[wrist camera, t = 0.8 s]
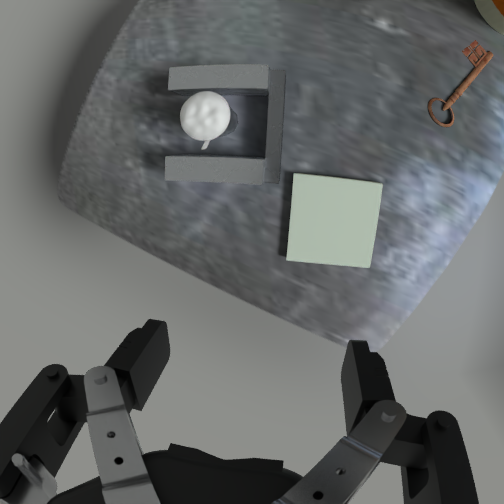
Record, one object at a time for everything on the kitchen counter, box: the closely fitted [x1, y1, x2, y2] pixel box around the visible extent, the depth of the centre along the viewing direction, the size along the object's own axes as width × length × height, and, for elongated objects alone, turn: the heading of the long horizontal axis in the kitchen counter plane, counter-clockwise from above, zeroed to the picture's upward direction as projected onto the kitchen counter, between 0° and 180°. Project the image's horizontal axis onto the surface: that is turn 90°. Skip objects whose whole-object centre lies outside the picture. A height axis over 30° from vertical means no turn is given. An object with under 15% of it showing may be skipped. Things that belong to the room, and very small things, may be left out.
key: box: [428, 40, 493, 127], centre depth 27 cm, size 6×1×15 cm
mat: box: [286, 173, 383, 268], centre depth 35 cm, size 10×10×1 cm
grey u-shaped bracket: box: [165, 64, 286, 185], centre depth 31 cm, size 12×12×5 cm
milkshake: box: [180, 91, 238, 150], centre depth 29 cm, size 4×5×10 cm
